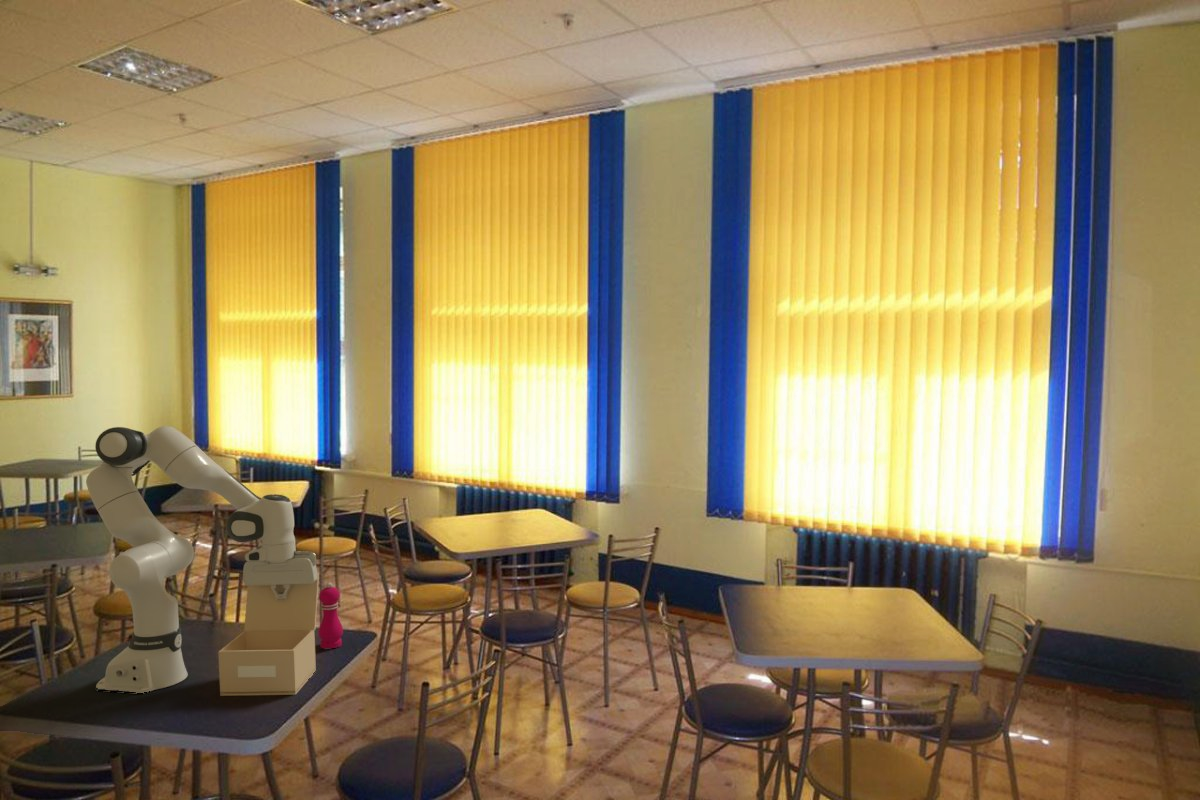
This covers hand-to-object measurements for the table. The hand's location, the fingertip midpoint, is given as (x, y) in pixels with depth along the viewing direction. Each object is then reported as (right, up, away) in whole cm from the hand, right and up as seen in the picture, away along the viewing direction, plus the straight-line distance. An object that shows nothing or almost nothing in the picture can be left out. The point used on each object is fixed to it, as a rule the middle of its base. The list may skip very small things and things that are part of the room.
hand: (281, 599), depth 238 cm
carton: (0, -21, -9) cm, 23 cm away
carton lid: (0, -1, +1) cm, 1 cm away
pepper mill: (+8, -19, +19) cm, 28 cm away
